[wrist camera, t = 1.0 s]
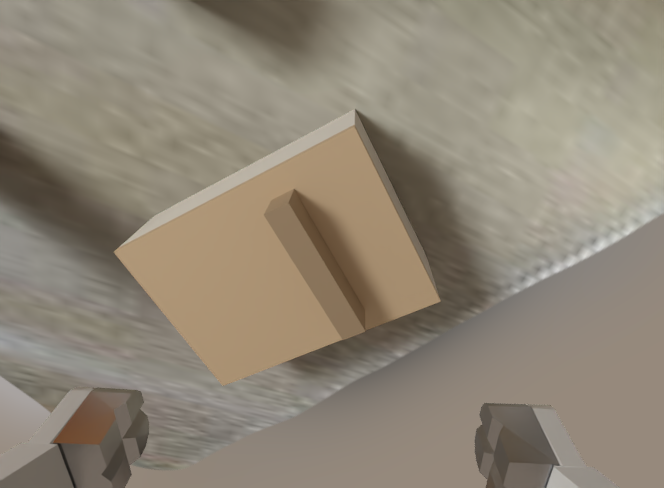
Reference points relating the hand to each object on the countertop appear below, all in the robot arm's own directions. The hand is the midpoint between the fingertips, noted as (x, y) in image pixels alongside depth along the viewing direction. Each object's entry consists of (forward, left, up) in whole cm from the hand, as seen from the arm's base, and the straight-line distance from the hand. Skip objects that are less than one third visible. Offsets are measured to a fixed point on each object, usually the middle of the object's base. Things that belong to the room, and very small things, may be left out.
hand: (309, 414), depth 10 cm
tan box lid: (+9, +6, -24) cm, 26 cm away
